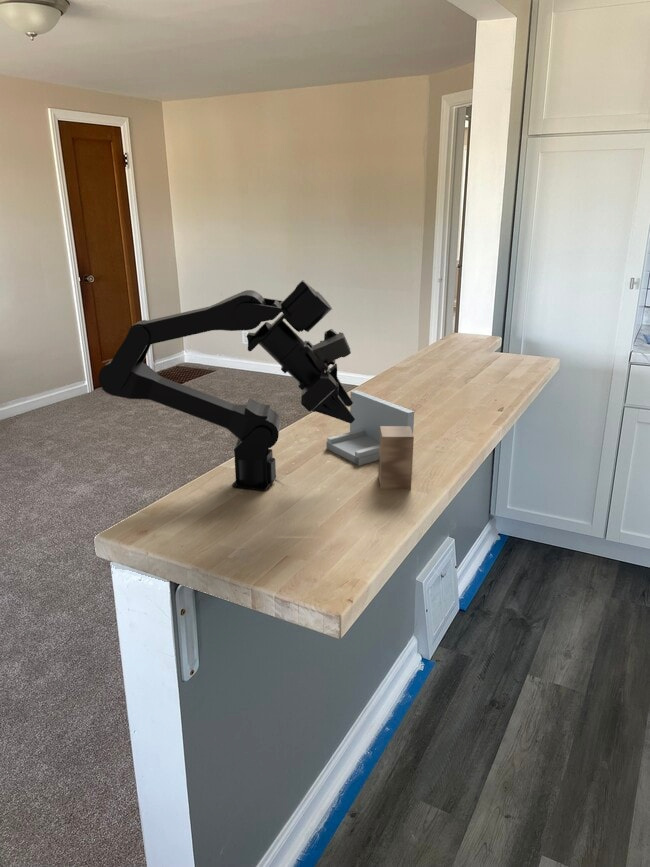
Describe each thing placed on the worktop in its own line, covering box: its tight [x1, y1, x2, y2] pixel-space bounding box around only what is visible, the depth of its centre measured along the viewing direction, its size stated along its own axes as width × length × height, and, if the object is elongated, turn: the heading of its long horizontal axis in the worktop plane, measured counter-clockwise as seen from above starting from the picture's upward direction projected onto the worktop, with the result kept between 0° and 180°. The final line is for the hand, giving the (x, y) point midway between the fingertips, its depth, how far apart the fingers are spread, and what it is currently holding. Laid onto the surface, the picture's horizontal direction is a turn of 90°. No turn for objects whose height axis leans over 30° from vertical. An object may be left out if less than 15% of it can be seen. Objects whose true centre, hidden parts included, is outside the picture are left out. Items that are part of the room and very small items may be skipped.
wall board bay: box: [325, 389, 415, 467], centre depth 131 cm, size 11×18×10 cm, turn 36°
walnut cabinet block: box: [377, 426, 415, 490], centre depth 116 cm, size 6×6×10 cm
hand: (352, 412), depth 113 cm, fingers open, 9 cm apart
